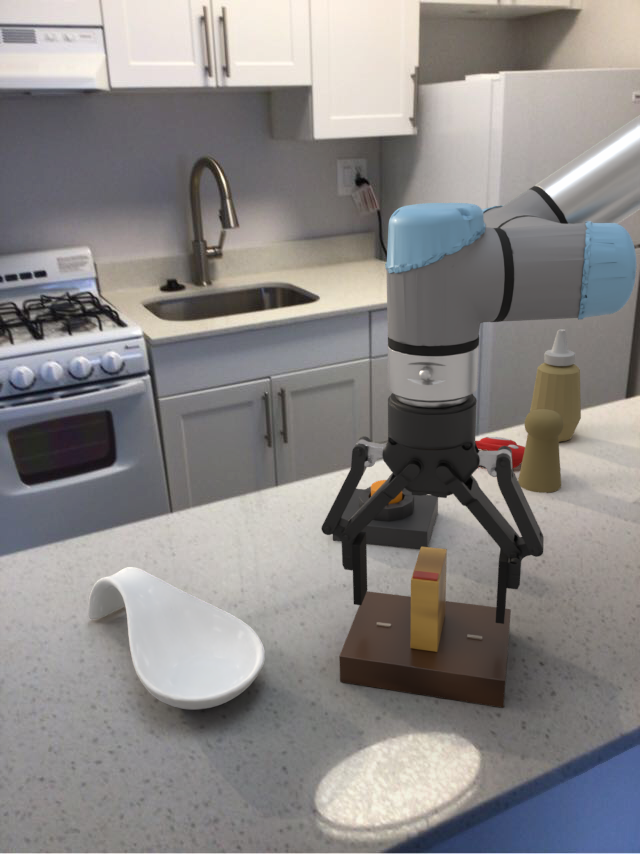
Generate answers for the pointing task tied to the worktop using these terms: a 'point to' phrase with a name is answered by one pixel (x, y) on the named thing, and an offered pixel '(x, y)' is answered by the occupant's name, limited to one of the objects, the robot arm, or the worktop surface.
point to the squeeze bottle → (559, 385)
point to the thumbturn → (428, 598)
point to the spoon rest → (180, 640)
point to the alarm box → (397, 520)
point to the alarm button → (378, 484)
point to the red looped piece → (497, 442)
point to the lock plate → (427, 670)
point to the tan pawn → (541, 452)
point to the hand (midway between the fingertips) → (428, 606)
